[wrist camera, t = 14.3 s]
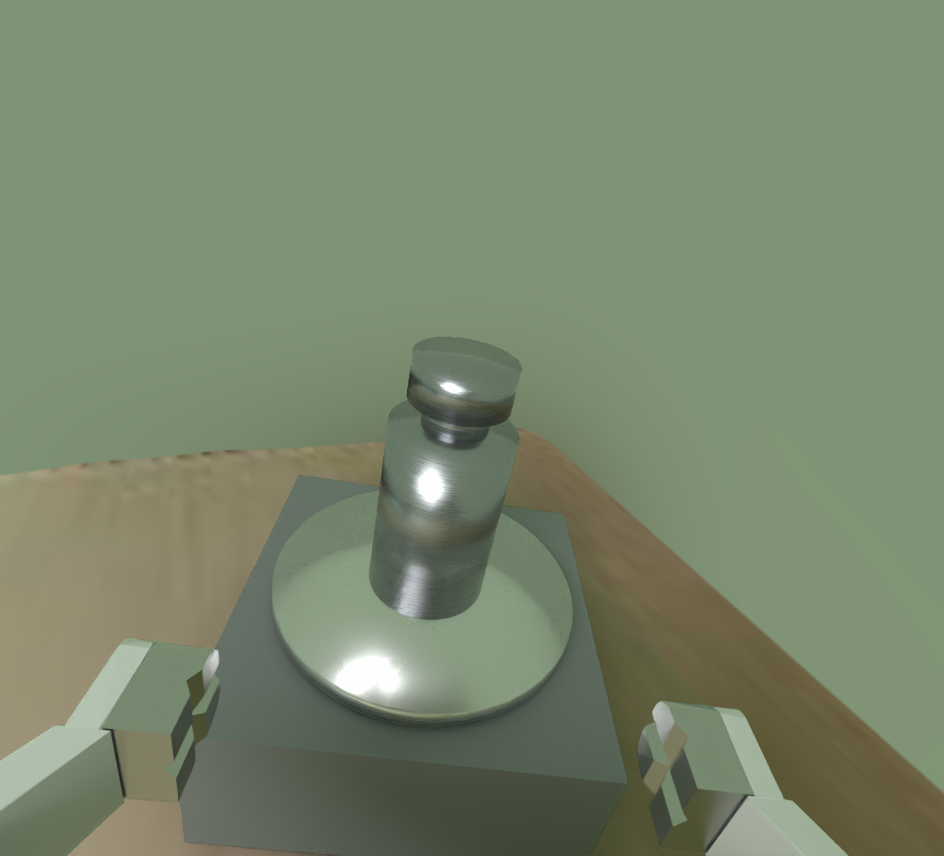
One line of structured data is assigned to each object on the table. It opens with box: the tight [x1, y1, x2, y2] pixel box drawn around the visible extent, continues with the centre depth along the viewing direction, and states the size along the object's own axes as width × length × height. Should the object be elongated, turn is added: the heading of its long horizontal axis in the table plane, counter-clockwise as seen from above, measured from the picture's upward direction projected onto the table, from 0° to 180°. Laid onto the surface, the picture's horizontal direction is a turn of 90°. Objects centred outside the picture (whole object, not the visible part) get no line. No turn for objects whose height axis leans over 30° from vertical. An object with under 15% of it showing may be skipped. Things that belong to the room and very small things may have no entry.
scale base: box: [180, 475, 628, 856], centre depth 25 cm, size 14×14×6 cm
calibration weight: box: [369, 337, 522, 620], centre depth 21 cm, size 5×5×10 cm
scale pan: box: [272, 491, 573, 728], centre depth 23 cm, size 12×12×1 cm
